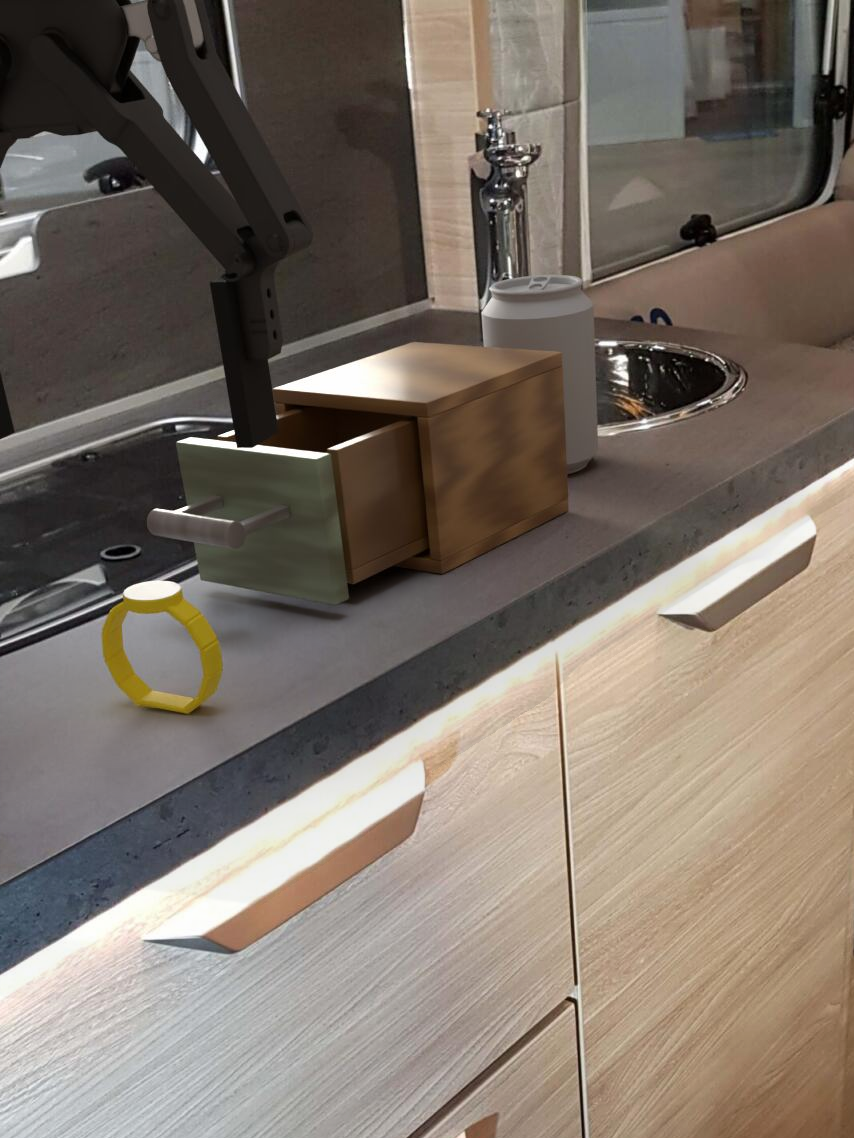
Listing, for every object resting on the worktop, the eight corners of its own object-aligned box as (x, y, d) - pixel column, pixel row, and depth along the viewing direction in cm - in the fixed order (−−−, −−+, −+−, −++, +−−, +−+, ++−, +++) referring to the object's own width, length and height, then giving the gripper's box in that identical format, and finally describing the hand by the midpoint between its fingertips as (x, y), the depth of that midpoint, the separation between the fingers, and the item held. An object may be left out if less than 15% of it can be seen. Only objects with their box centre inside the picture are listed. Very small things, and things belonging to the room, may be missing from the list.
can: (478, 480, 107) (464, 291, 100) (510, 451, 113) (498, 271, 106) (583, 481, 105) (576, 289, 98) (609, 452, 111) (604, 268, 104)
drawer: (273, 636, 81) (249, 485, 77) (136, 608, 87) (106, 465, 82) (469, 540, 93) (458, 404, 88) (338, 520, 98) (322, 391, 94)
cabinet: (442, 574, 91) (426, 402, 85) (295, 550, 97) (271, 388, 91) (569, 510, 99) (562, 351, 94) (427, 492, 105) (413, 341, 100)
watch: (105, 712, 76) (79, 594, 73) (136, 691, 79) (111, 576, 75) (209, 723, 74) (187, 602, 71) (238, 701, 77) (217, 583, 73)
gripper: (346, -186, 57) (409, 417, 69) (-207, -114, 64) (-64, 420, 76) (260, -199, 51) (345, 463, 63) (-338, -119, 58) (-161, 461, 70)
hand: (121, 441), depth 69 cm, fingers open, 13 cm apart
